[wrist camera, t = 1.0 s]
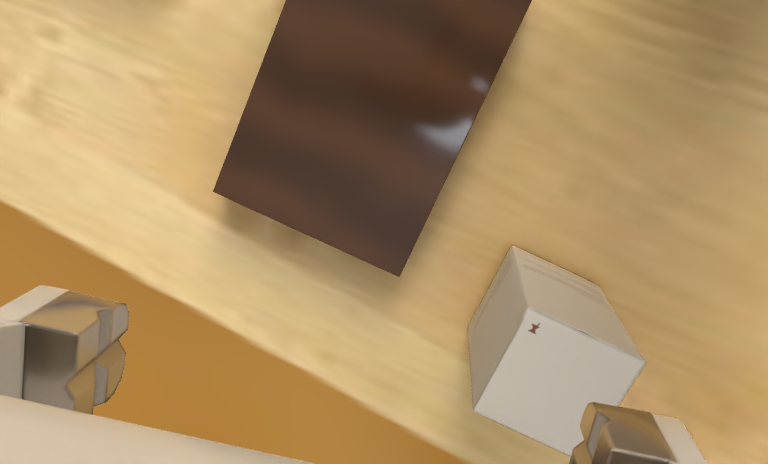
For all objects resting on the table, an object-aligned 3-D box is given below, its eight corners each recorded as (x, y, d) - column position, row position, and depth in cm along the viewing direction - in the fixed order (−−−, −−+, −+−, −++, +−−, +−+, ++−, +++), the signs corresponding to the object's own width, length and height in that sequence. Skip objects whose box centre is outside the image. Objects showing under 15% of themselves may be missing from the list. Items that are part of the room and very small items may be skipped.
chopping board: (334, -91, 46) (324, -102, 43) (528, -1, 46) (534, -5, 43) (228, 182, 52) (212, 191, 48) (402, 262, 52) (399, 277, 48)
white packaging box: (464, 327, 52) (466, 411, 40) (511, 241, 50) (529, 302, 38) (553, 370, 53) (582, 467, 40) (604, 286, 51) (650, 361, 38)
